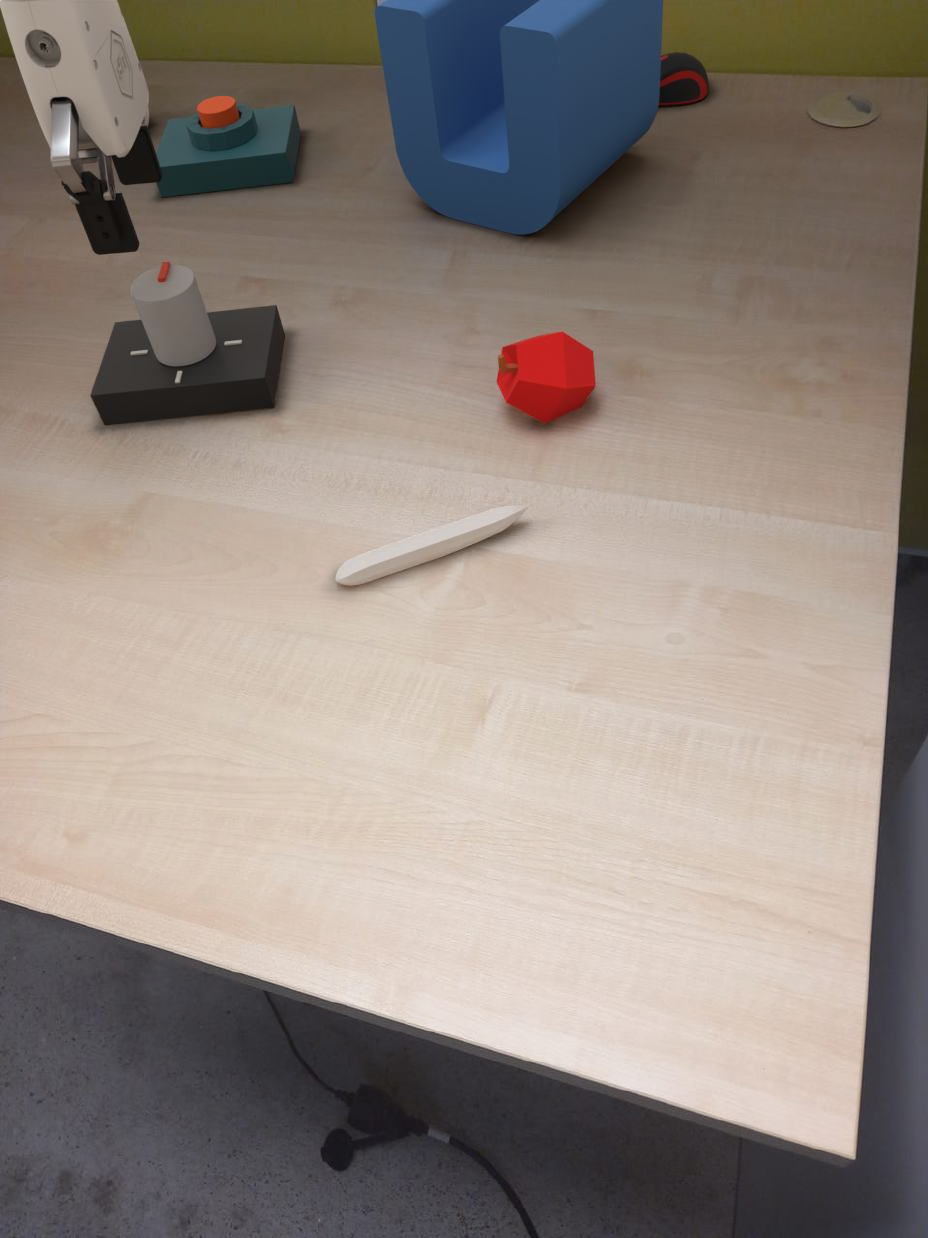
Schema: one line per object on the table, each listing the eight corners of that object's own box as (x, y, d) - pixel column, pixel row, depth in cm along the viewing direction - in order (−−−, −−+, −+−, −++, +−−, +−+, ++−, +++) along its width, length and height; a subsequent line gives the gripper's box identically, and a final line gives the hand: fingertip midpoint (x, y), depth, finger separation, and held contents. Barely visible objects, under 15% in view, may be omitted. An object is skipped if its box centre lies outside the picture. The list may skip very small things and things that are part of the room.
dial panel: (104, 425, 83) (89, 393, 80) (127, 351, 89) (114, 320, 87) (274, 408, 82) (264, 375, 79) (285, 334, 88) (276, 302, 86)
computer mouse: (600, 91, 112) (600, 52, 109) (699, 75, 112) (702, 36, 109) (612, 116, 108) (612, 76, 105) (715, 100, 108) (718, 60, 105)
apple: (598, 308, 77) (499, 297, 74) (622, 374, 73) (520, 366, 71) (564, 374, 82) (471, 366, 79) (585, 438, 79) (489, 433, 76)
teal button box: (161, 197, 107) (144, 150, 103) (177, 148, 114) (162, 102, 110) (292, 182, 106) (281, 133, 102) (301, 133, 113) (290, 86, 109)
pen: (533, 527, 70) (532, 509, 69) (340, 594, 68) (335, 577, 67) (524, 512, 71) (523, 495, 70) (333, 578, 69) (328, 561, 68)
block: (404, 205, 100) (373, 4, 87) (505, 125, 109) (490, -69, 95) (562, 246, 93) (554, 33, 79) (657, 157, 101) (665, -50, 88)
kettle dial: (212, 363, 81) (187, 293, 77) (150, 369, 82) (122, 300, 77) (220, 326, 85) (197, 257, 80) (161, 333, 85) (134, 264, 80)
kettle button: (199, 132, 105) (194, 115, 104) (204, 114, 108) (199, 97, 107) (237, 127, 105) (232, 110, 104) (241, 110, 108) (237, 93, 106)
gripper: (65, -5, 56) (162, 276, 69) (124, -105, 67) (198, 153, 80) (-69, 8, 56) (52, 286, 69) (12, -93, 67) (104, 162, 80)
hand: (130, 214), depth 75 cm, fingers open, 9 cm apart
